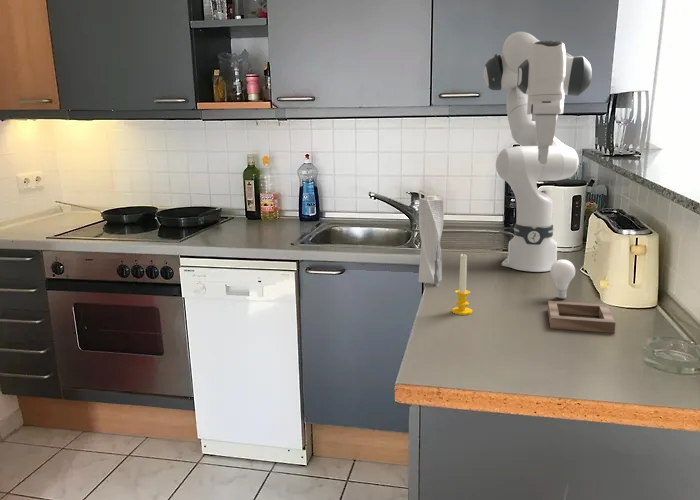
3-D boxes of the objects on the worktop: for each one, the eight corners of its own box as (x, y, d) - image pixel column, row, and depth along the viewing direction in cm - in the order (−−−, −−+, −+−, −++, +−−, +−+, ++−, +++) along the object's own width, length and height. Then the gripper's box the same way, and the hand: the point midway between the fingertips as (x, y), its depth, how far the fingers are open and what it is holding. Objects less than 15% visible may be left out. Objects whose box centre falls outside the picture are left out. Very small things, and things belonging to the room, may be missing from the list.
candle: (474, 314, 151) (476, 254, 148) (454, 315, 151) (455, 255, 148) (469, 308, 156) (471, 250, 153) (449, 309, 156) (450, 250, 153)
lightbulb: (553, 294, 168) (556, 256, 166) (576, 298, 164) (579, 259, 162) (545, 299, 163) (547, 260, 161) (568, 303, 159) (571, 263, 157)
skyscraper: (411, 285, 179) (412, 191, 173) (421, 279, 186) (422, 188, 180) (438, 288, 175) (440, 193, 169) (447, 282, 182) (450, 190, 176)
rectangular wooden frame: (547, 310, 154) (548, 300, 154) (605, 314, 151) (606, 304, 150) (550, 328, 141) (551, 318, 140) (614, 332, 137) (615, 322, 137)
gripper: (531, 108, 162) (528, 159, 165) (533, 106, 143) (530, 165, 146) (555, 107, 161) (552, 159, 164) (561, 106, 141) (557, 165, 144)
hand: (542, 162), depth 155 cm, fingers open, 8 cm apart
